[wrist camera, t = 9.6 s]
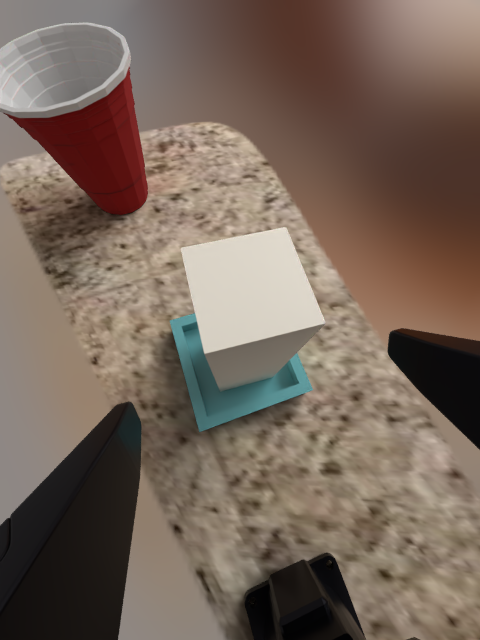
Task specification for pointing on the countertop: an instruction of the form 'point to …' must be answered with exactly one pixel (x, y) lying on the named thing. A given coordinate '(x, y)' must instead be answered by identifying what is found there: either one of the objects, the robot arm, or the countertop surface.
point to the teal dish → (236, 401)
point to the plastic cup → (79, 108)
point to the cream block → (250, 304)
